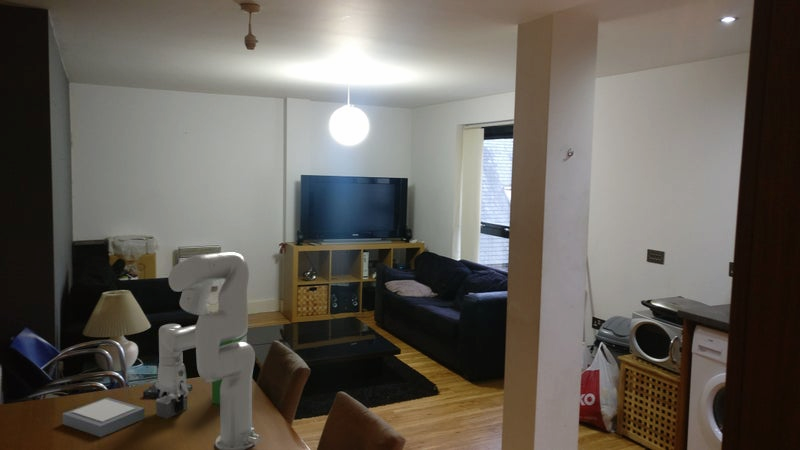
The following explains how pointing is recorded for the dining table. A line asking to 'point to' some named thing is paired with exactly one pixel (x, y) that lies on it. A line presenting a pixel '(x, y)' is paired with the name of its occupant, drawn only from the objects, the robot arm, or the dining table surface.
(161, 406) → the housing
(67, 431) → the dining table surface
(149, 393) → the disk drive
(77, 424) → the stand
